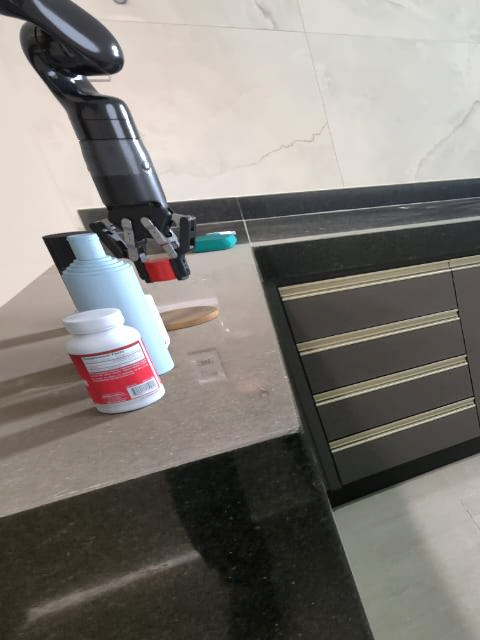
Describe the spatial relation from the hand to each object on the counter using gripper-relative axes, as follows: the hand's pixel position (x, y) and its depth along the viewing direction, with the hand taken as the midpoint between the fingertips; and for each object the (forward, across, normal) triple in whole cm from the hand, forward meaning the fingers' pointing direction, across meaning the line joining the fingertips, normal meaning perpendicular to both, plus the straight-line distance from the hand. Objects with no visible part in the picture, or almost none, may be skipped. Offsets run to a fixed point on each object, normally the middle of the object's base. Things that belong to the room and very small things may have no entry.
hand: (167, 280), depth 88 cm
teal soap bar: (+7, +28, -80) cm, 85 cm away
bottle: (+7, -6, +24) cm, 26 cm away
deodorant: (+7, +13, -4) cm, 16 cm away
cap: (0, 0, 0) cm, 0 cm away
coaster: (+7, 0, 0) cm, 7 cm away
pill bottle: (+7, -10, +34) cm, 36 cm away
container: (+7, -1, +16) cm, 18 cm away
